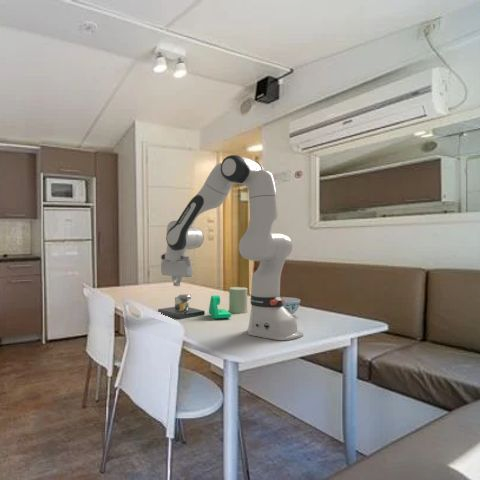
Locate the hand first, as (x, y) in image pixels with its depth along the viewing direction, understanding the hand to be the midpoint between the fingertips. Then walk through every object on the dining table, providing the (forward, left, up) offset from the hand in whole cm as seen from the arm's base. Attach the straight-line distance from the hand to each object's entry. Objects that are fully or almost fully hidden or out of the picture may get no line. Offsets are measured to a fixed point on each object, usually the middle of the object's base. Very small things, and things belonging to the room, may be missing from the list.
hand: (176, 286), depth 190 cm
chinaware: (-31, -39, -14) cm, 52 cm away
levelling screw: (-2, -3, -12) cm, 12 cm away
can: (-9, -30, -14) cm, 35 cm away
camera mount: (-14, -14, -15) cm, 25 cm away
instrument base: (+4, -5, -14) cm, 15 cm away
